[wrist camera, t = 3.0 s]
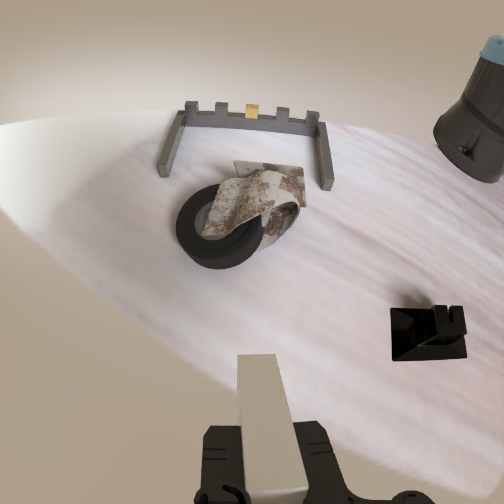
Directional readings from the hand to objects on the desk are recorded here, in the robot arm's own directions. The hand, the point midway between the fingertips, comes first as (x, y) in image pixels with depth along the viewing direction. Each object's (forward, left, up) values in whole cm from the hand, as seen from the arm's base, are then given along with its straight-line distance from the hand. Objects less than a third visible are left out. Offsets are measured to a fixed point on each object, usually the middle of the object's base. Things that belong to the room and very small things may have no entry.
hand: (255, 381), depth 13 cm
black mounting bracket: (-18, -7, -15) cm, 25 cm away
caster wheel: (+2, -16, -14) cm, 22 cm away
